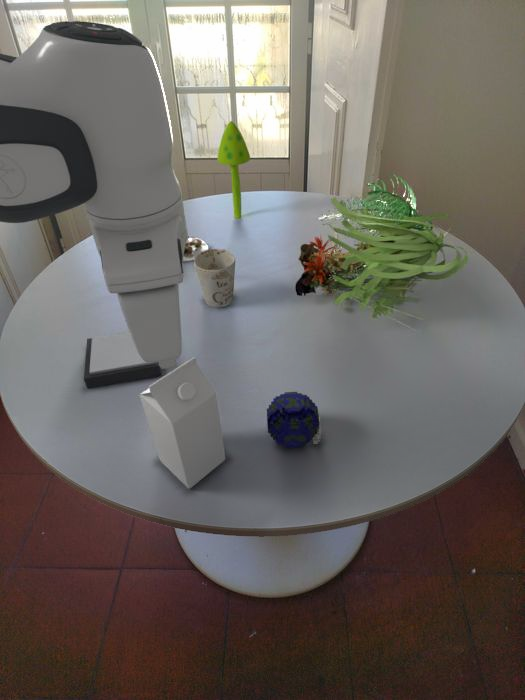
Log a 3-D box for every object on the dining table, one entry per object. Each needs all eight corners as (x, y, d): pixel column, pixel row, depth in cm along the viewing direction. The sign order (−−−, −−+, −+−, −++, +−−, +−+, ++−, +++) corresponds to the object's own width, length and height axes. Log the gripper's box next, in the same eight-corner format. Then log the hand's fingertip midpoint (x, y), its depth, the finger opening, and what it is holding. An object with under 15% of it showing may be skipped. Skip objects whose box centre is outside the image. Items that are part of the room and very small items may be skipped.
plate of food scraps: (202, 263, 112) (200, 249, 110) (154, 260, 114) (151, 246, 111) (214, 240, 121) (212, 226, 118) (169, 237, 122) (167, 224, 120)
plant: (337, 214, 114) (489, 174, 90) (339, 339, 113) (493, 332, 89) (249, 180, 92) (420, 114, 68) (250, 335, 91) (424, 324, 67)
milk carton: (159, 461, 71) (132, 372, 58) (196, 433, 74) (178, 344, 62) (189, 490, 67) (166, 401, 54) (226, 459, 71) (213, 370, 58)
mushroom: (221, 224, 127) (211, 126, 110) (224, 210, 133) (215, 115, 116) (252, 224, 126) (247, 125, 110) (253, 210, 133) (249, 115, 116)
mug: (203, 314, 97) (197, 273, 91) (193, 282, 106) (187, 242, 100) (242, 307, 99) (239, 266, 92) (229, 275, 108) (225, 236, 101)
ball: (315, 414, 77) (317, 382, 71) (322, 453, 71) (325, 421, 66) (266, 417, 76) (265, 385, 71) (269, 456, 71) (268, 424, 66)
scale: (86, 388, 83) (81, 376, 80) (89, 348, 91) (85, 336, 88) (161, 375, 84) (158, 363, 82) (158, 337, 92) (155, 325, 90)
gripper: (108, 187, 52) (135, 290, 61) (103, 290, 37) (140, 405, 46) (165, 180, 53) (183, 283, 62) (182, 277, 38) (203, 393, 47)
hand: (165, 336), depth 54 cm, fingers open, 8 cm apart
